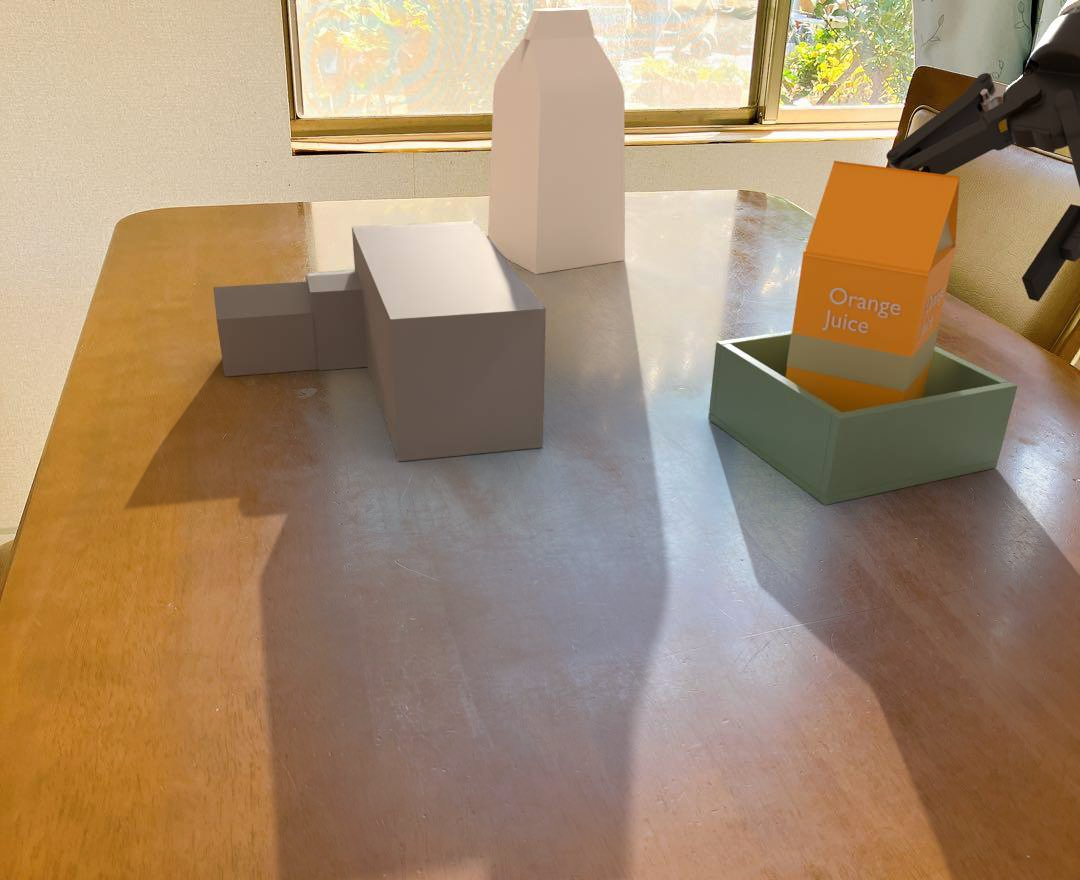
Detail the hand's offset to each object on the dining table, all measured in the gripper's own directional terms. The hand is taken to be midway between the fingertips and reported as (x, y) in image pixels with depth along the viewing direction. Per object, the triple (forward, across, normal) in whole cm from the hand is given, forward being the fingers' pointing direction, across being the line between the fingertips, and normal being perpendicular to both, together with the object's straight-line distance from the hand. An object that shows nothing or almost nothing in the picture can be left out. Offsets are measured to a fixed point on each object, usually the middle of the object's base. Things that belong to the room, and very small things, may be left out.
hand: (947, 268), depth 83 cm
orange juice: (+15, 0, +2) cm, 15 cm away
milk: (+5, -53, +12) cm, 55 cm away
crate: (+15, 0, +2) cm, 15 cm away
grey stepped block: (+33, -30, -16) cm, 47 cm away
